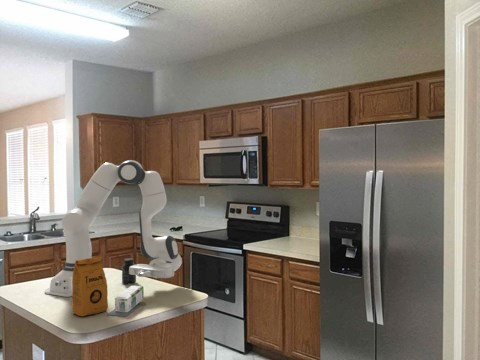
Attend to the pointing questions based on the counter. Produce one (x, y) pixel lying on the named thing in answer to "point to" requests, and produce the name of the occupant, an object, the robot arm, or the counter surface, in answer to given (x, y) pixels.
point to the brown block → (142, 303)
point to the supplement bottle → (125, 272)
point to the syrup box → (129, 298)
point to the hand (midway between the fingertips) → (140, 275)
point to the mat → (117, 313)
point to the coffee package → (89, 287)
